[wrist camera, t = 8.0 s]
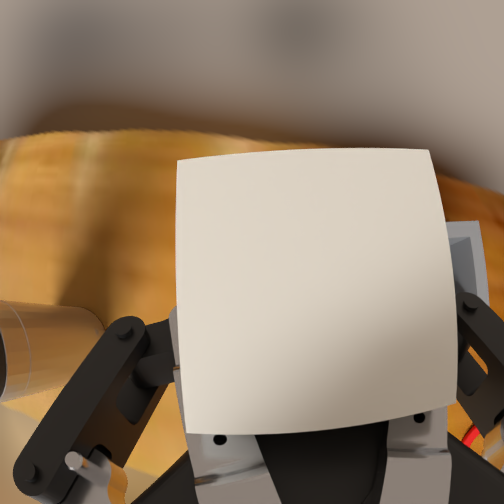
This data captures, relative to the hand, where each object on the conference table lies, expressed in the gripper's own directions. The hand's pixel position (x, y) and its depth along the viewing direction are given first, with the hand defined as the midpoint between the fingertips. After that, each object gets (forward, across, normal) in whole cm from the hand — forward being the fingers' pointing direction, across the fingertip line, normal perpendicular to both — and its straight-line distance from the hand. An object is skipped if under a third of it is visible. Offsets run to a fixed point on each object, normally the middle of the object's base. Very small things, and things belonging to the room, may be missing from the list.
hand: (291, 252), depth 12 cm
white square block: (+3, 0, +6) cm, 7 cm away
